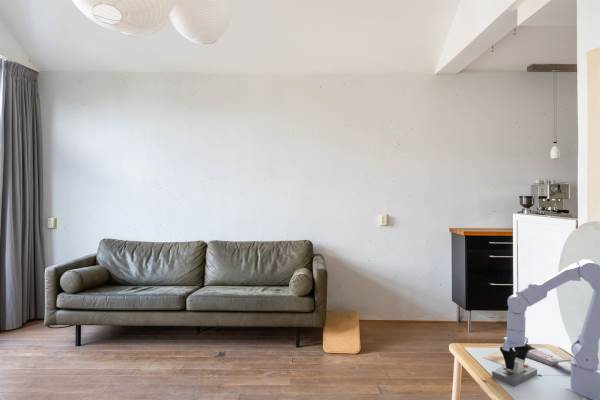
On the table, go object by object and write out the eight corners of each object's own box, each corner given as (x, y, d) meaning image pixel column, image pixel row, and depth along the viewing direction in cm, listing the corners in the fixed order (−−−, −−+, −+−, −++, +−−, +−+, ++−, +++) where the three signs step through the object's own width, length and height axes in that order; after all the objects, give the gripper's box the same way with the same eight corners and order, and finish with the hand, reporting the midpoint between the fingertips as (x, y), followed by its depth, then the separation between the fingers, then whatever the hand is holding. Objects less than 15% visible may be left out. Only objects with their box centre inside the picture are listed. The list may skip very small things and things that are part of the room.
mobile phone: (571, 359, 140) (508, 336, 162) (570, 375, 140) (508, 350, 162) (581, 357, 142) (518, 334, 165) (580, 373, 142) (517, 348, 165)
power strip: (514, 368, 145) (514, 359, 145) (537, 377, 138) (537, 367, 138) (491, 379, 136) (492, 369, 136) (514, 389, 129) (515, 378, 129)
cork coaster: (519, 362, 150) (519, 360, 150) (507, 367, 144) (507, 366, 144) (495, 353, 158) (495, 352, 158) (483, 358, 152) (483, 357, 152)
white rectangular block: (523, 376, 137) (523, 359, 136) (517, 379, 134) (518, 362, 134) (511, 372, 140) (512, 356, 140) (506, 374, 138) (506, 358, 138)
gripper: (514, 322, 144) (513, 357, 144) (494, 329, 136) (493, 366, 136) (534, 327, 139) (533, 364, 139) (514, 335, 130) (513, 374, 130)
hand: (515, 366), depth 137 cm, fingers open, 7 cm apart
